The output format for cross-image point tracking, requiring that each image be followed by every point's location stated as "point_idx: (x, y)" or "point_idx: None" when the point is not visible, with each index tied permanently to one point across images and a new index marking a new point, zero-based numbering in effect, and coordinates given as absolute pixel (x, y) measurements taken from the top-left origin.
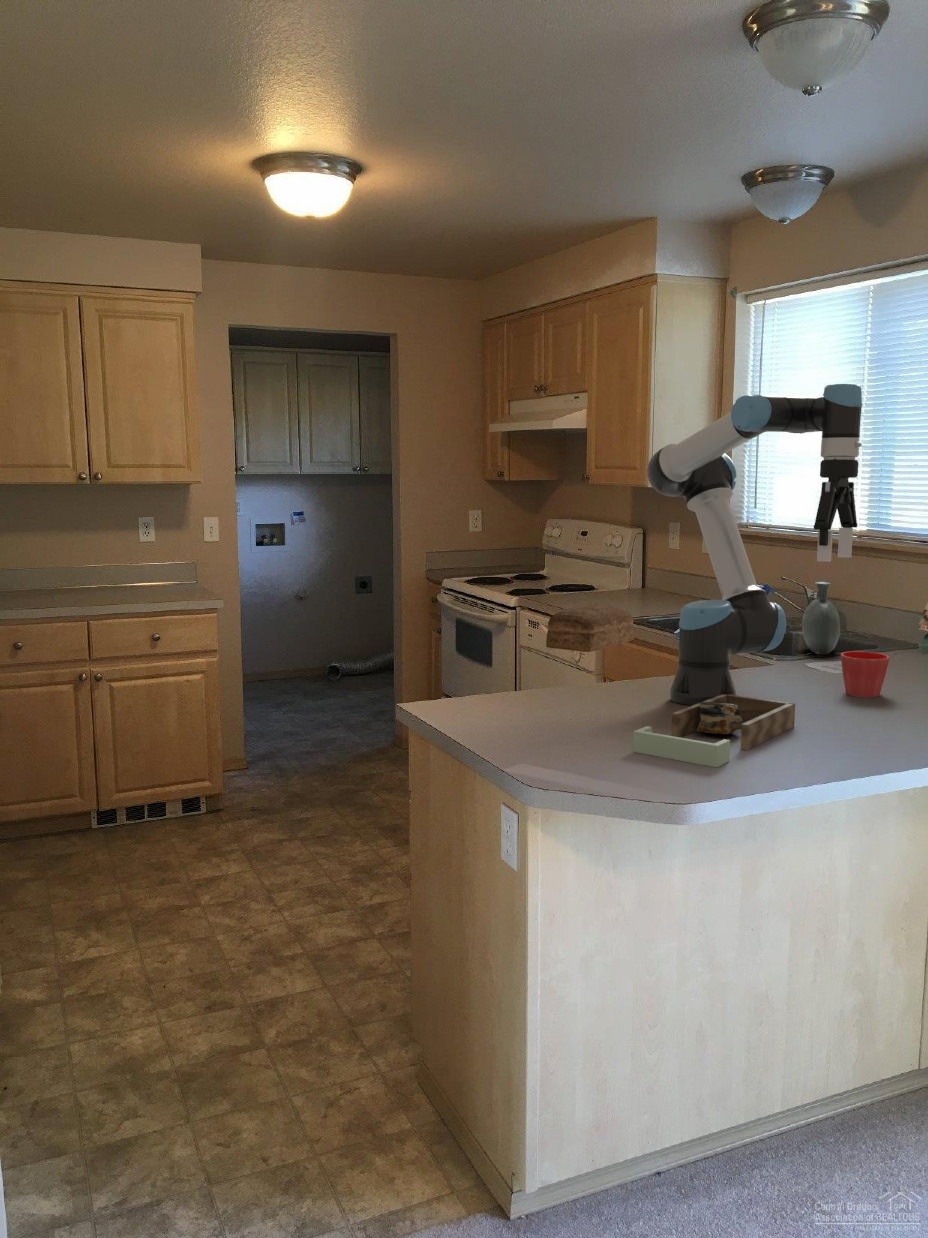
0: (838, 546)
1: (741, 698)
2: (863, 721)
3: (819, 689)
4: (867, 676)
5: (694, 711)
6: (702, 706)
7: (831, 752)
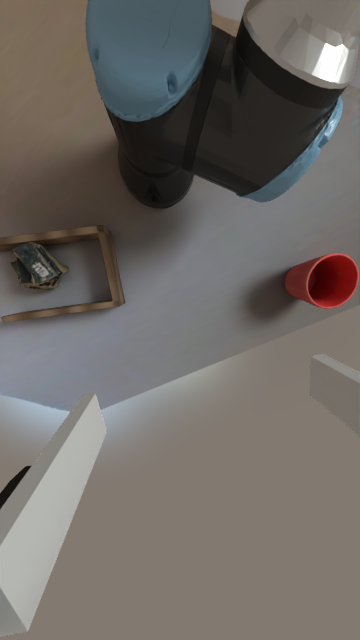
0: (348, 378)
1: (102, 251)
2: (188, 332)
3: (296, 237)
4: (296, 293)
5: (19, 243)
6: (14, 253)
7: (75, 362)
